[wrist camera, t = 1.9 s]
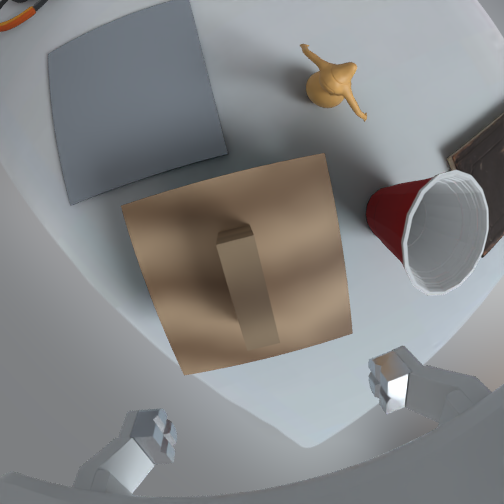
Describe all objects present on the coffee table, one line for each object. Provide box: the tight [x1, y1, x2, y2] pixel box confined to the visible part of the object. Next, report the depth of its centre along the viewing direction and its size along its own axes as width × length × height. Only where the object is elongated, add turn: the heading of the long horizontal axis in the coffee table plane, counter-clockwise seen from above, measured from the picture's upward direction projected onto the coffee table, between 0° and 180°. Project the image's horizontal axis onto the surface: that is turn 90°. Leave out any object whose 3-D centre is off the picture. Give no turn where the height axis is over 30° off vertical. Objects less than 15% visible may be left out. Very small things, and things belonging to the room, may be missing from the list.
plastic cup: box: [366, 170, 489, 296], centre depth 25 cm, size 11×11×12 cm
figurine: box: [300, 44, 367, 121], centre depth 21 cm, size 8×6×12 cm
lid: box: [121, 153, 352, 375], centre depth 22 cm, size 16×16×5 cm
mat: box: [48, 0, 228, 205], centre depth 25 cm, size 20×18×1 cm
